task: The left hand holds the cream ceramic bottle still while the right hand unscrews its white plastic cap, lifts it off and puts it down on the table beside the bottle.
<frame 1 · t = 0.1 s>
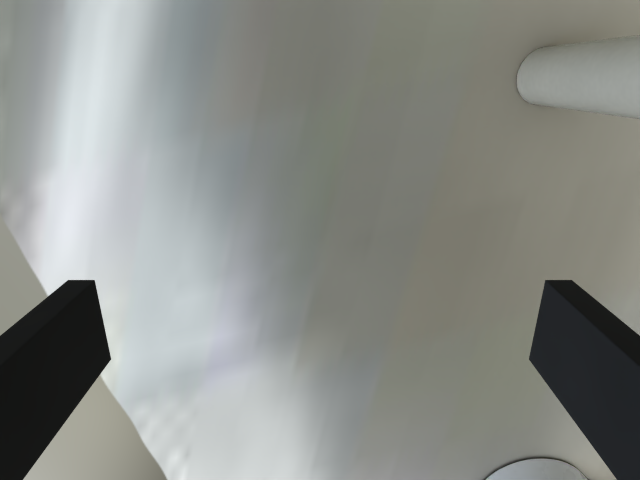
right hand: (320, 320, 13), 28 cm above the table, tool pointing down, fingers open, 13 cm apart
bottle: (544, 76, 37), on the table
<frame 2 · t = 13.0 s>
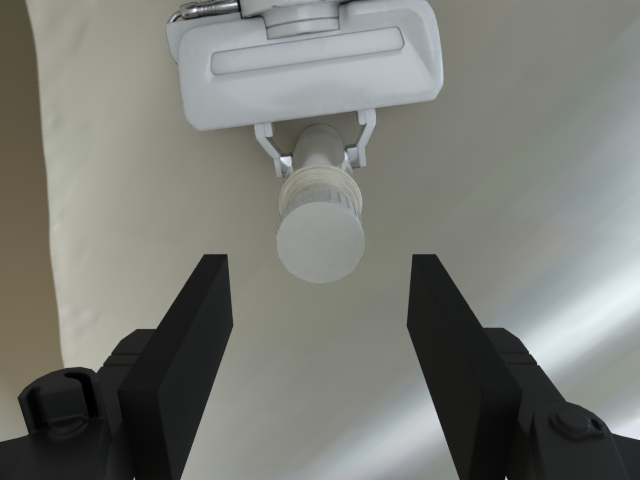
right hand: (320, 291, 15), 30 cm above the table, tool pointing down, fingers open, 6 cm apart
left hand: (321, 171, 37), fingers closed on bottle, 5 cm apart
cap: (320, 241, 19), point 25 cm above the table, screwed on, not yet turned
bottle: (320, 148, 43), on the table, touching left hand
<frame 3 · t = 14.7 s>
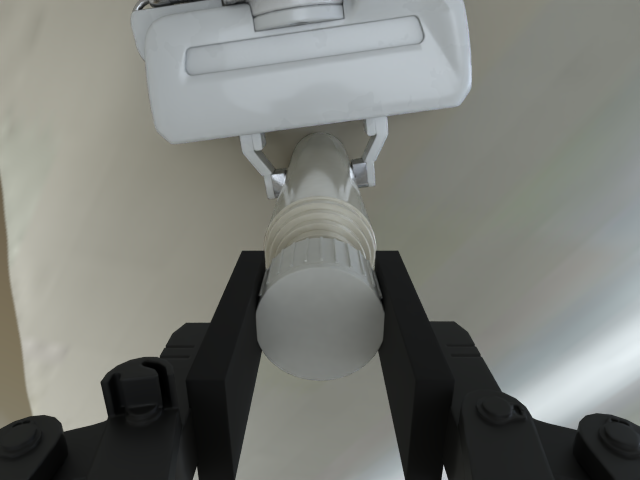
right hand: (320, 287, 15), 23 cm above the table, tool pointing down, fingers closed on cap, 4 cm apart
left hand: (322, 190, 31), fingers closed on bottle, 5 cm apart
cap: (320, 321, 13), point 25 cm above the table, screwed on, not yet turned, touching right hand
bottle: (319, 160, 37), on the table, touching left hand
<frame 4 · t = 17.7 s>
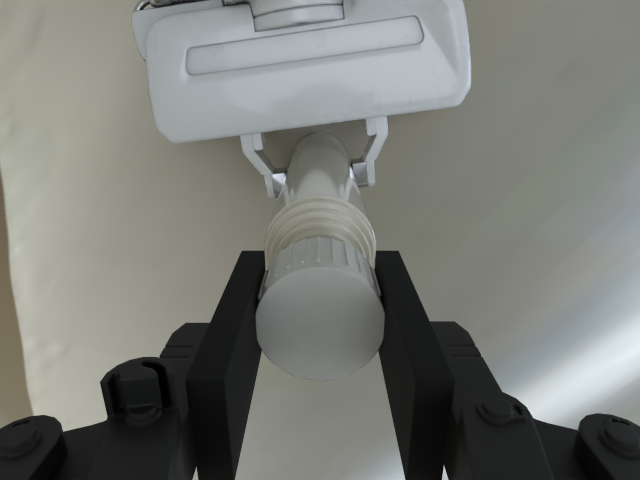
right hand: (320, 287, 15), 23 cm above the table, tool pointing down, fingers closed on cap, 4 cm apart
left hand: (322, 190, 31), fingers closed on bottle, 5 cm apart
cap: (320, 321, 13), point 26 cm above the table, turned 96° so far, risen 0.1 cm, still on its thread, touching right hand
bottle: (320, 160, 37), on the table, touching left hand
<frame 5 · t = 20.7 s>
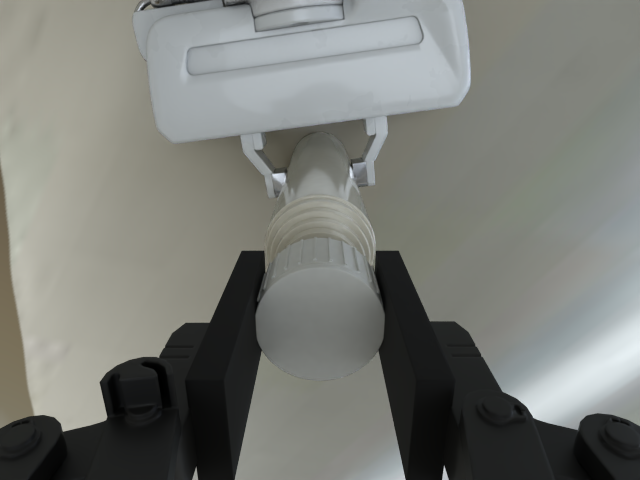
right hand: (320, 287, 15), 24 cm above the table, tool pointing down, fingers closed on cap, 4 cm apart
left hand: (322, 190, 31), fingers closed on bottle, 5 cm apart
cap: (320, 321, 13), point 26 cm above the table, turned 192° so far, risen 0.2 cm, still on its thread, touching right hand
bottle: (320, 160, 37), on the table, touching left hand
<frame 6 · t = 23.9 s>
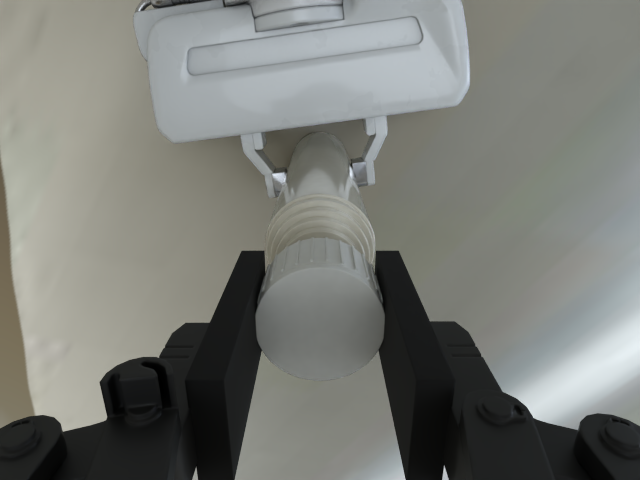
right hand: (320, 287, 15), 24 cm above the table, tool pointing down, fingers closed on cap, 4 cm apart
left hand: (322, 189, 31), fingers closed on bottle, 5 cm apart
cap: (320, 321, 13), point 26 cm above the table, turned 288° so far, risen 0.4 cm, still on its thread, touching right hand
bottle: (320, 159, 37), on the table, touching left hand
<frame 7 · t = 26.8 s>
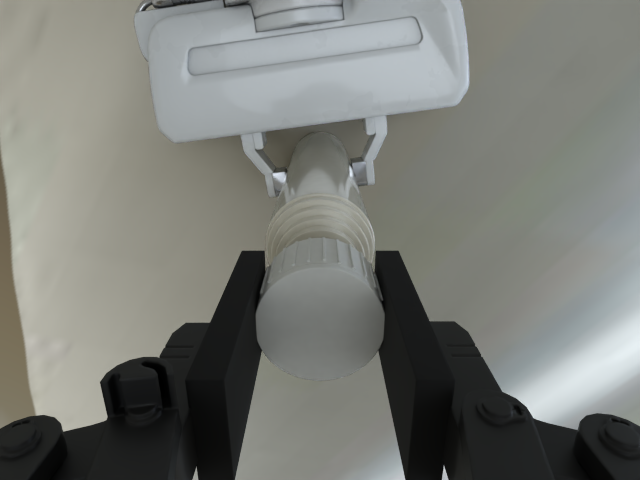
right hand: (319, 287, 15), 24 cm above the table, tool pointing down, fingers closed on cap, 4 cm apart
left hand: (322, 189, 31), fingers closed on bottle, 5 cm apart
cap: (320, 321, 13), point 26 cm above the table, turned 384° so far, risen 0.5 cm, still on its thread, touching right hand
bottle: (320, 159, 37), on the table, touching left hand
when the right hand's fingers open (1 cm above the table, at t = 35.5 s): cap drops 1 cm, point 2 cm above the table.
when the left hand's fingers open (7 cm above the table, at t = 36.8 s): bottle stays where it is, on the table.
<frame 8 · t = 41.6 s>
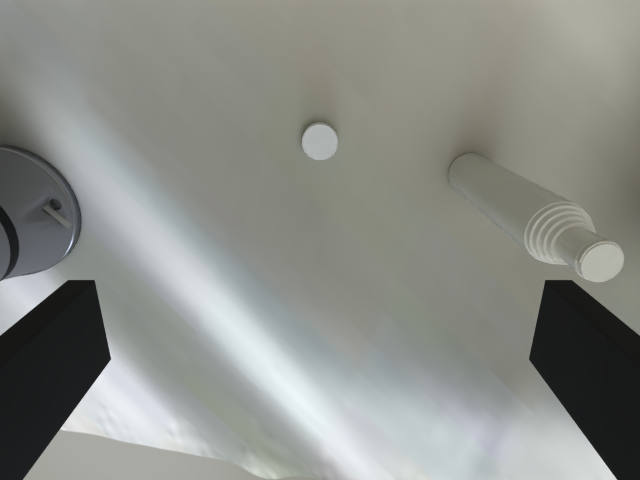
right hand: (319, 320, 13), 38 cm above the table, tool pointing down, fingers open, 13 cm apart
cap: (319, 142, 46), point 2 cm above the table, off its thread
bottle: (468, 173, 50), on the table
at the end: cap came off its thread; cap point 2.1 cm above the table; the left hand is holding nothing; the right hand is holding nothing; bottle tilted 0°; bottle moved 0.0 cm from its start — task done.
